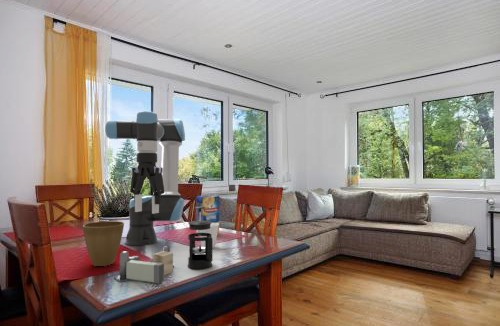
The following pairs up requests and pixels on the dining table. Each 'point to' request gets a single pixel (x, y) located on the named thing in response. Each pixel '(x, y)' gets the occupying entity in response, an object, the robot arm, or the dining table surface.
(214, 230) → the cup
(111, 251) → the plant pot
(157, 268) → the gate
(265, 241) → the dining table surface
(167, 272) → the block
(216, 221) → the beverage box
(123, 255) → the metal knob post
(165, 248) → the post
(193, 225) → the french press
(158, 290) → the dining table surface
